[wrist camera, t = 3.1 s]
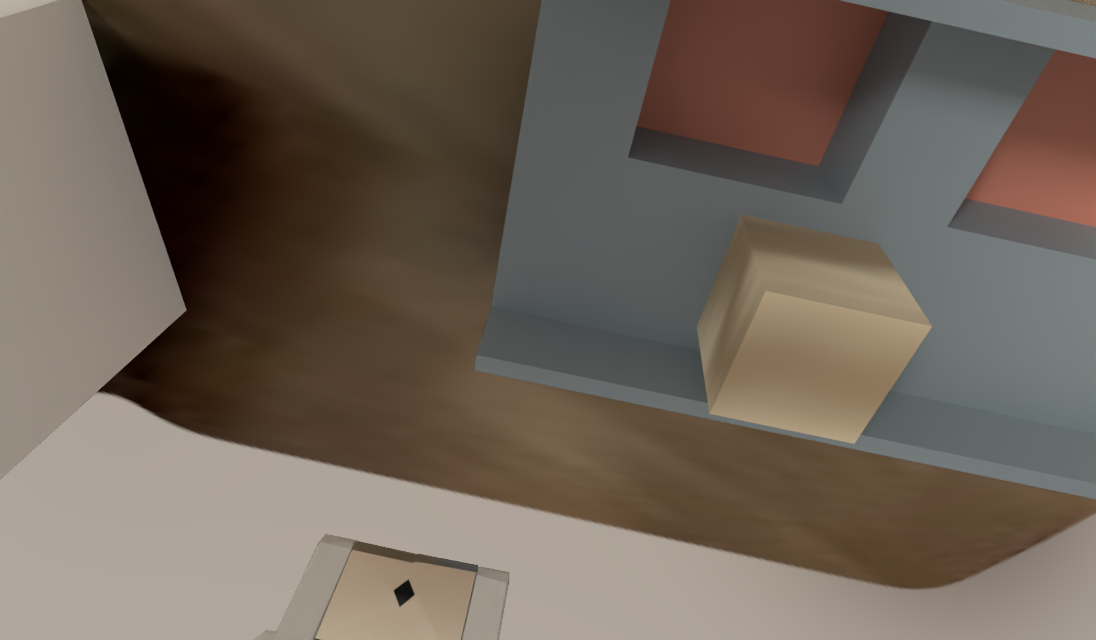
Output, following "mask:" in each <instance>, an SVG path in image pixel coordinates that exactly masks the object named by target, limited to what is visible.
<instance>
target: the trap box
mask: <svg viewBox="0 0 1096 640" xmlns="http://www.w3.org/2000/svg"><path fill="white" fill-rule="evenodd" d="M741 214H743V215H748V216H752V217H757V218H762V219H766V220H771V221H775V222H780V223H785V224H789V225H794V226H799V227H803V228H808V229H812V230H817V231H822V232H826V233H831V234H835V235H840V236H845V237H849V238H854V239H859V240H863V241H868V242H872V243H877V244H879V245H880V246H881V248H882V249H883V251H884V252H885V254H886V256H887V257H888V259H889V260H890V262H891V263H892V265H893V266H894V268H895V270H896V271H897V273H898V274H899V276H900V277H901V279H902V280H903V282H904V283H905V285H906V287H907V288H908V290H909V291H910V293H911V294H912V296H913V297H914V299H915V301H916V302H917V304H918V305H919V307H920V308H921V310H922V311H923V313H924V315H925V316H926V318H927V319H928V321H929V322H930V324H931V325H932V328H931V329H930V331H929V332H928V334H927V335H926V337H925V338H924V340H923V341H922V343H921V344H920V346H919V347H918V349H917V350H916V352H915V353H914V355H913V356H912V358H911V359H910V361H909V362H908V364H907V365H906V367H905V368H904V370H903V371H902V373H901V374H900V376H899V377H898V379H897V380H896V382H895V383H894V385H893V386H892V388H891V389H890V391H889V392H888V394H887V395H886V397H885V398H884V400H883V401H882V403H881V405H880V406H879V408H878V409H877V411H876V412H875V414H874V415H873V417H872V418H871V420H870V421H869V423H868V424H867V426H866V427H865V429H864V430H863V432H862V433H861V435H860V436H859V438H858V439H857V441H856V442H855V444H853V443H848V442H843V441H838V440H833V439H829V438H824V437H819V436H814V435H809V434H804V433H800V432H795V431H790V430H785V429H780V428H776V427H771V426H766V425H761V424H756V423H751V422H747V421H742V420H737V419H732V418H727V417H723V416H718V415H713V414H709V407H708V400H707V394H706V387H705V380H704V373H703V366H702V359H701V353H700V346H699V339H698V332H697V324H698V322H699V319H700V317H701V314H702V312H703V309H704V307H705V304H706V302H707V299H708V297H709V294H710V292H711V289H712V287H713V284H714V282H715V279H716V277H717V274H718V272H719V269H720V267H721V264H722V262H723V259H724V257H725V254H726V252H727V249H728V247H729V244H730V242H731V239H732V237H733V234H734V232H735V229H736V227H737V224H738V222H739V219H740V217H741ZM474 371H479V372H484V373H489V374H493V375H498V376H503V377H508V378H513V379H518V380H522V381H527V382H532V383H537V384H542V385H547V386H551V387H556V388H561V389H566V390H571V391H575V392H580V393H585V394H590V395H595V396H600V397H604V398H609V399H614V400H619V401H624V402H629V403H633V404H638V405H643V406H648V407H653V408H657V409H662V410H667V411H672V412H677V413H682V414H686V415H691V416H696V417H701V418H706V419H711V420H715V421H720V422H725V423H730V424H735V425H739V426H744V427H749V428H754V429H759V430H764V431H768V432H773V433H778V434H783V435H788V436H793V437H797V438H802V439H807V440H812V441H817V442H821V443H826V444H831V445H836V446H841V447H846V448H850V449H855V450H860V451H865V452H870V453H875V454H879V455H884V456H889V457H894V458H899V459H903V460H908V461H913V462H918V463H923V464H928V465H932V466H937V467H942V468H947V469H952V470H957V471H961V472H966V473H971V474H976V475H981V476H985V477H990V478H995V479H1000V480H1005V481H1010V482H1014V483H1019V484H1024V485H1029V486H1034V487H1039V488H1043V489H1048V490H1053V491H1058V492H1063V493H1067V494H1072V495H1077V496H1082V497H1087V498H1092V499H1096V6H1092V5H1088V4H1084V3H1079V2H1075V1H1071V0H542V1H541V7H540V13H539V19H538V25H537V31H536V37H535V43H534V49H533V55H532V61H531V67H530V73H529V79H528V85H527V91H526V97H525V103H524V109H523V116H522V122H521V128H520V134H519V140H518V146H517V152H516V158H515V164H514V170H513V176H512V182H511V188H510V194H509V200H508V206H507V212H506V218H505V224H504V230H503V236H502V242H501V249H500V255H499V261H498V267H497V273H496V279H495V285H494V291H493V297H492V303H491V308H490V311H489V315H488V318H487V321H486V325H485V328H484V331H483V335H482V338H481V341H480V345H479V348H478V351H477V355H476V361H475V367H474Z"/></svg>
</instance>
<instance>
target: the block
mask: <svg viewBox="0 0 1096 640" xmlns="http://www.w3.org/2000/svg"><path fill="white" fill-rule="evenodd" d="M931 328H932V325H931V324H930V322H929V321H928V319H927V318H926V316H925V315H924V313H923V311H922V310H921V308H920V307H919V305H918V304H917V302H916V301H915V299H914V297H913V296H912V294H911V293H910V291H909V290H908V288H907V287H906V285H905V283H904V282H903V280H902V279H901V277H900V276H899V274H898V273H897V271H896V270H895V268H894V266H893V265H892V263H891V262H890V260H889V259H888V257H887V256H886V254H885V252H884V251H883V249H882V248H881V246H880V245H879V244H877V243H872V242H868V241H863V240H859V239H854V238H849V237H845V236H840V235H835V234H831V233H826V232H822V231H817V230H812V229H808V228H803V227H799V226H794V225H789V224H785V223H780V222H775V221H771V220H766V219H762V218H757V217H752V216H748V215H743V214H741V217H740V219H739V222H738V224H737V227H736V229H735V232H734V234H733V237H732V239H731V242H730V244H729V247H728V249H727V252H726V254H725V257H724V259H723V262H722V264H721V267H720V269H719V272H718V274H717V277H716V279H715V282H714V284H713V287H712V289H711V292H710V294H709V297H708V299H707V302H706V304H705V307H704V309H703V312H702V314H701V317H700V319H699V322H698V324H697V332H698V339H699V346H700V353H701V359H702V366H703V373H704V380H705V387H706V394H707V400H708V407H709V414H713V415H718V416H723V417H727V418H732V419H737V420H742V421H747V422H751V423H756V424H761V425H766V426H771V427H776V428H780V429H785V430H790V431H795V432H800V433H804V434H809V435H814V436H819V437H824V438H829V439H833V440H838V441H843V442H848V443H853V444H855V442H856V441H857V439H858V438H859V436H860V435H861V433H862V432H863V430H864V429H865V427H866V426H867V424H868V423H869V421H870V420H871V418H872V417H873V415H874V414H875V412H876V411H877V409H878V408H879V406H880V405H881V403H882V401H883V400H884V398H885V397H886V395H887V394H888V392H889V391H890V389H891V388H892V386H893V385H894V383H895V382H896V380H897V379H898V377H899V376H900V374H901V373H902V371H903V370H904V368H905V367H906V365H907V364H908V362H909V361H910V359H911V358H912V356H913V355H914V353H915V352H916V350H917V349H918V347H919V346H920V344H921V343H922V341H923V340H924V338H925V337H926V335H927V334H928V332H929V331H930V329H931Z"/></svg>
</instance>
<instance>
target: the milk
mask: <svg viewBox="0 0 1096 640" xmlns="http://www.w3.org/2000/svg"><path fill="white" fill-rule="evenodd" d="M185 311H186V307H185V304H184V301H183V298H182V295H181V292H180V289H179V286H178V283H177V280H176V278H175V275H174V272H173V269H172V266H171V263H170V260H169V257H168V254H167V251H166V248H165V245H164V242H163V239H162V236H161V233H160V230H159V227H158V224H157V222H156V219H155V216H154V213H153V210H152V207H151V204H150V201H149V198H148V195H147V192H146V189H145V186H144V183H143V180H142V177H141V174H140V171H139V168H138V166H137V163H136V160H135V157H134V154H133V151H132V148H131V145H130V142H129V139H128V136H127V133H126V130H125V127H124V124H123V121H122V118H121V115H120V112H119V110H118V107H117V104H116V101H115V98H114V95H113V92H112V89H111V86H110V83H109V80H108V77H107V74H106V71H105V68H104V65H103V62H102V59H101V57H100V54H99V51H98V48H97V45H96V42H95V39H94V36H93V33H92V30H91V27H90V24H89V21H88V18H87V15H86V12H85V9H84V6H83V4H82V1H81V0H0V479H2V478H3V477H4V476H5V475H6V474H7V473H8V472H9V471H10V470H11V469H13V468H14V467H15V466H16V465H17V464H18V463H19V462H20V461H21V460H22V459H24V458H25V457H26V456H27V455H28V454H29V453H30V452H31V451H32V450H34V448H35V447H37V446H38V445H39V444H40V443H41V442H42V441H43V440H44V439H45V438H47V437H48V436H49V435H50V434H51V433H52V432H53V431H54V430H55V429H57V428H58V427H59V426H60V425H61V424H62V423H63V422H64V421H65V420H66V419H68V418H69V417H70V416H71V415H72V414H73V413H74V412H75V411H76V410H77V409H78V408H80V407H81V406H82V405H83V404H84V403H85V402H86V401H87V400H88V399H89V398H91V397H92V396H93V395H94V394H95V393H96V392H97V391H98V390H99V389H101V388H102V387H103V386H104V385H105V384H106V383H107V382H108V381H109V380H110V379H112V378H113V377H114V376H115V375H116V374H117V373H118V372H119V371H120V370H121V369H122V368H124V367H125V366H126V365H127V364H128V363H129V362H130V361H131V360H132V359H133V358H135V357H136V356H137V355H138V354H139V353H140V352H141V351H142V350H143V349H144V348H146V347H147V346H148V345H149V344H150V343H151V342H152V341H153V340H154V339H155V338H157V337H158V336H159V335H160V334H161V333H162V332H163V331H164V330H165V329H166V328H168V327H169V326H170V325H171V324H172V323H173V322H174V321H175V320H176V319H177V318H179V317H180V316H181V315H182V314H183V313H184V312H185Z"/></svg>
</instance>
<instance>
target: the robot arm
mask: <svg viewBox="0 0 1096 640" xmlns="http://www.w3.org/2000/svg"><path fill="white" fill-rule="evenodd" d="M477 568H478V570H477ZM476 573H477V574H476ZM475 578H476V579H475ZM508 584H509V572H505V571H499V570H494V569H489V568H484V567H478V565H474V564H468V563H463V562H458V561H453V560H448V559H443V558H437V557H432V556H427V555H422V554H414V553H409V552H405V551H399V550H395V549H391V548H386V547H381V546H377V545H373V544H368V543H363V542H359V541H357V540H351V539H347V538H342V537H337V536H332V535H327V534H326V535H325V536H324V537H323V538H322V539H321V541H320V542H319V543H318V545H317V547H316V549H315V551H314V553H313V556H312V558H311V560H310V562H309V564H308V566H307V568H306V570H305V572H304V574H303V577H302V579H301V581H300V583H299V585H298V587H297V589H296V591H295V594H294V595H293V598H292V600H291V602H290V604H289V606H288V608H287V610H286V612H285V614H284V617H283V619H282V621H281V623H280V625H279V627H278V629H277V631H276V632H275V631H269V630H266V631H265V632H263V633H262V634H261V635H259V636H258V637H257V638H255V639H254V640H499V635H500V629H501V624H502V618H503V612H504V607H505V601H506V595H507V590H508Z"/></svg>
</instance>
